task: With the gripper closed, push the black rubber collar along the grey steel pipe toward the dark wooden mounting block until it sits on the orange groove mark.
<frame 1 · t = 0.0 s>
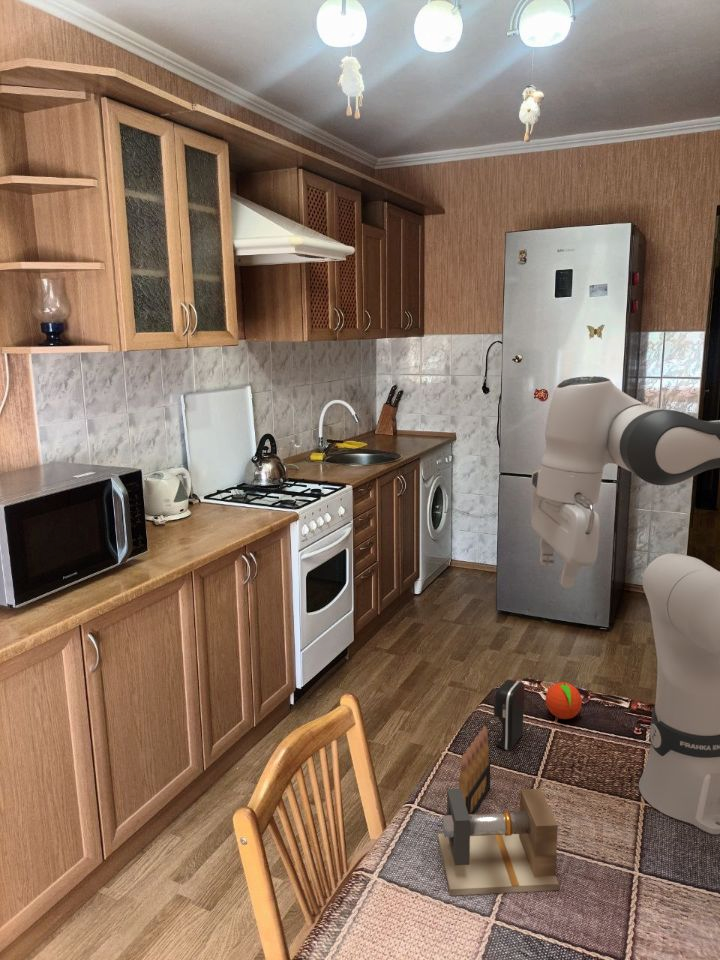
hand: (555, 575, 109), 39 cm above the table, tool pointing down, fingers open, 8 cm apart
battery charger: (507, 741, 134), on the table
collar: (458, 825, 102), point 7 cm above the table, slide at 7.0 cm
pipe stand: (495, 863, 104), on the table
ammunition clip: (473, 806, 116), on the table
steel pipe: (491, 824, 102), point 6 cm above the table
clementine: (563, 719, 142), on the table
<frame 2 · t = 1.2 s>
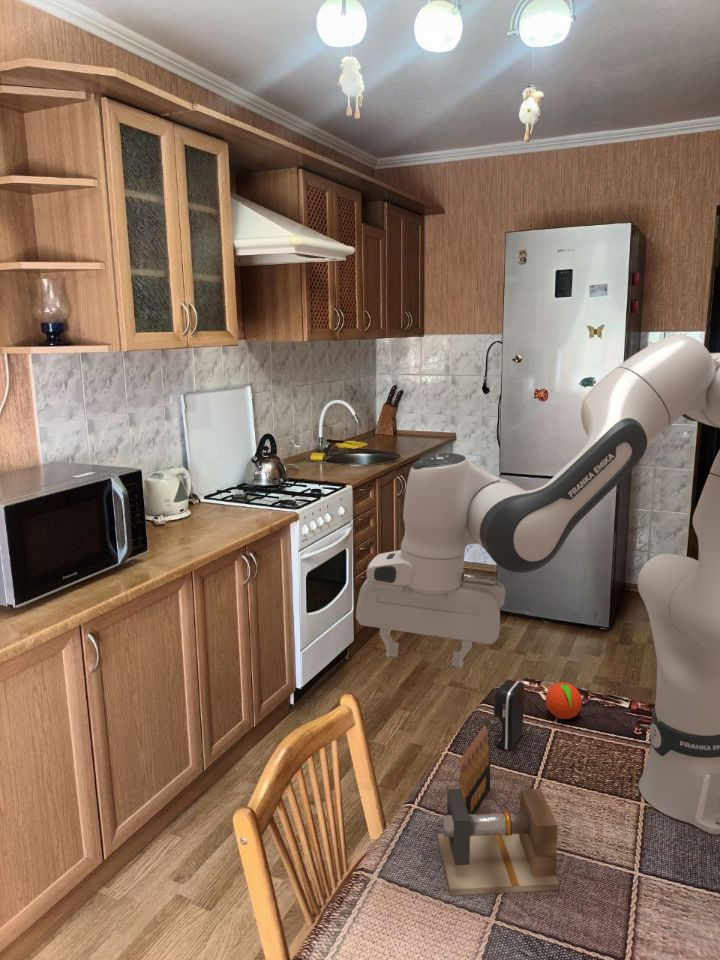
hand: (424, 661, 103), 29 cm above the table, tool pointing down, fingers open, 8 cm apart
nothing on the table moved.
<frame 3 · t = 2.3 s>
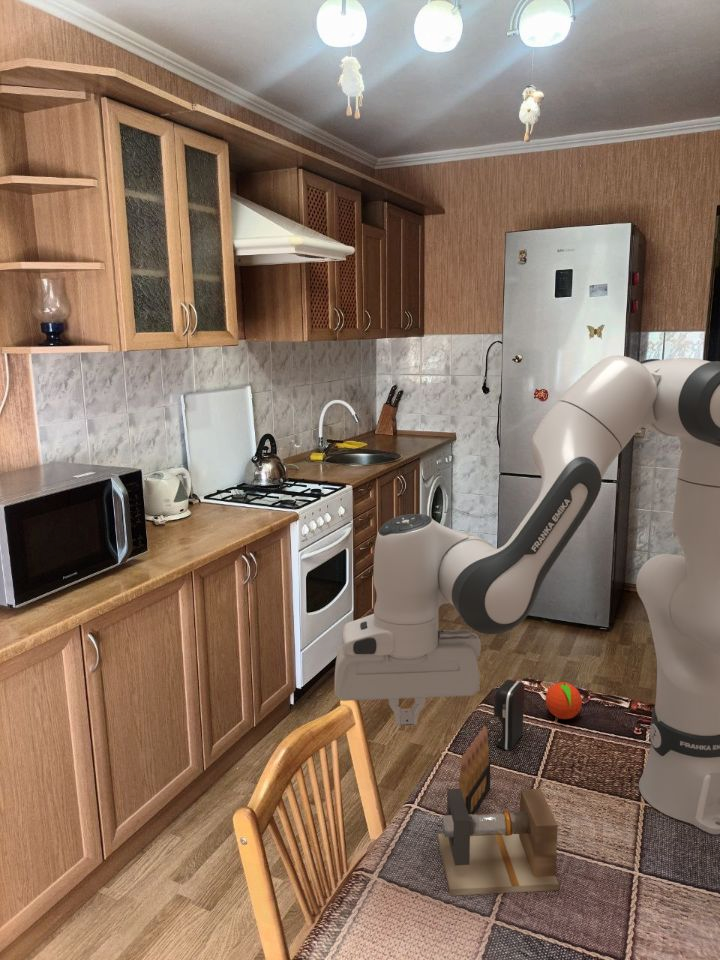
hand: (406, 723, 102), 21 cm above the table, tool pointing down, fingers closed
nothing on the table moved.
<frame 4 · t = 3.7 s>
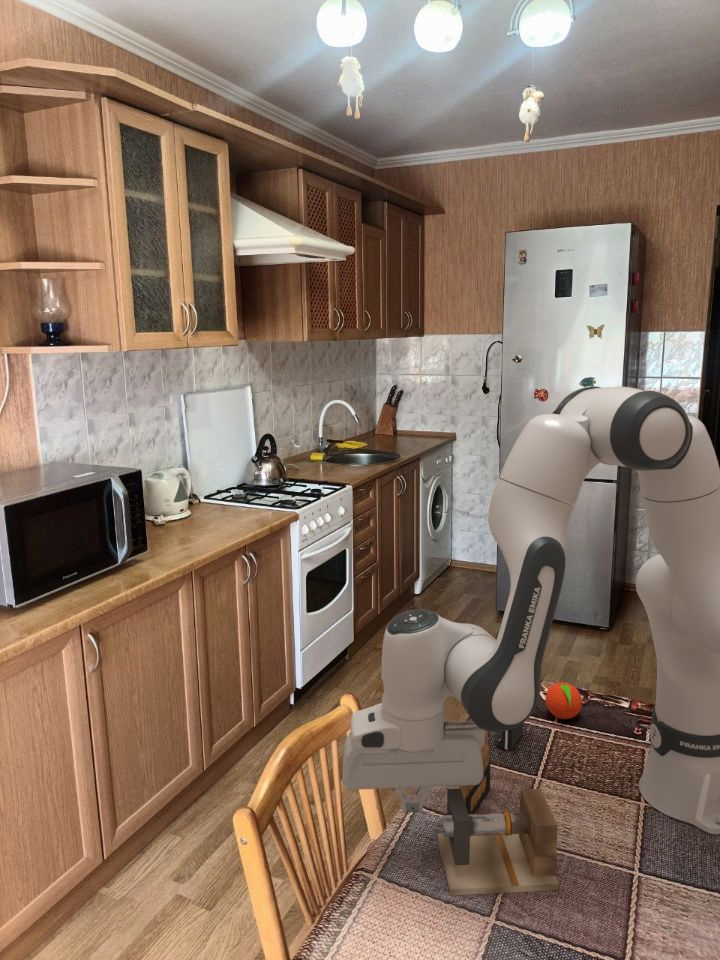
hand: (412, 809, 105), 7 cm above the table, tool pointing down, fingers closed
nothing on the table moved.
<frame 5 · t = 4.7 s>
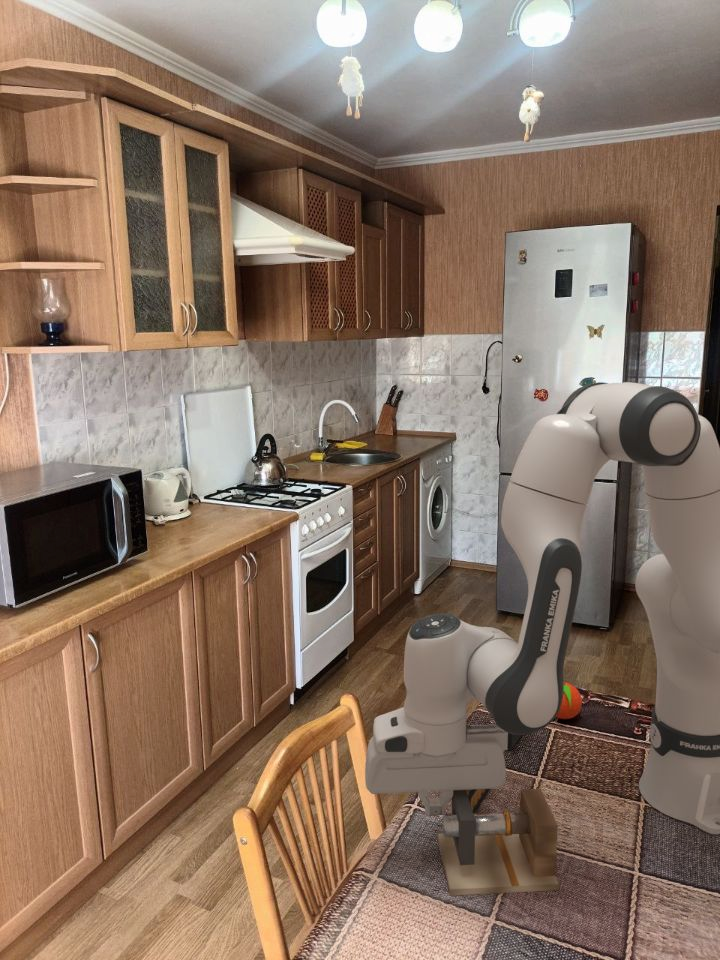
hand: (435, 813, 105), 6 cm above the table, tool pointing down, fingers closed
collar: (462, 825, 102), point 6 cm above the table, slide at 6.3 cm, touching gripper
everything else where it was.
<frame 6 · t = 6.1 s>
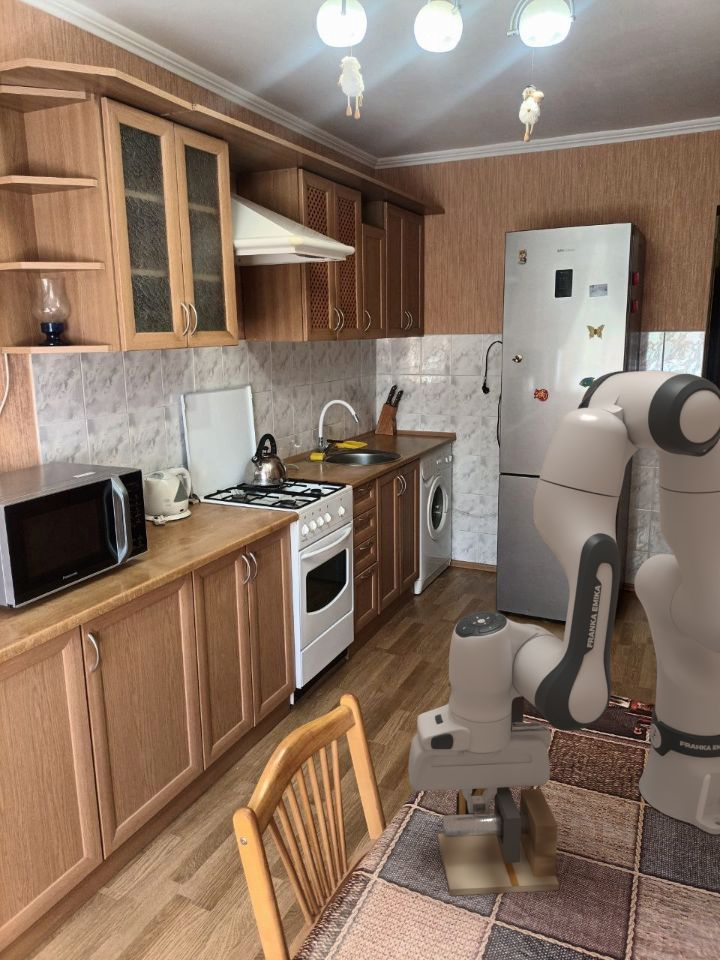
hand: (477, 810, 105), 7 cm above the table, tool pointing down, fingers closed
collar: (507, 823, 102), point 7 cm above the table, slide at 0.0 cm, touching gripper
everything else where it was.
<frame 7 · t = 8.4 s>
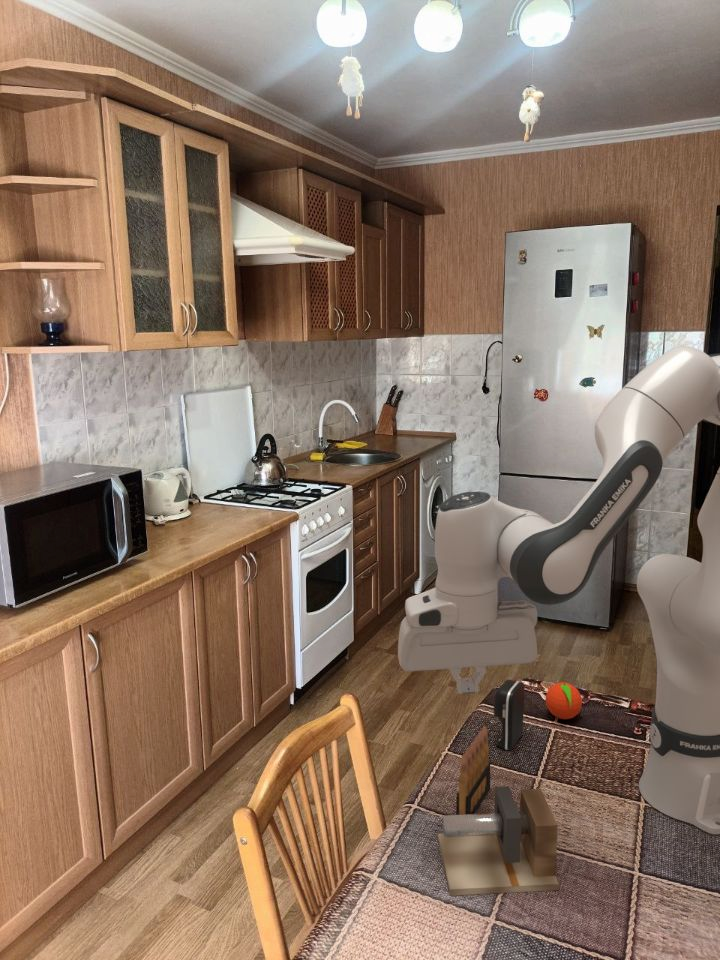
hand: (467, 691, 107), 23 cm above the table, tool pointing down, fingers closed
collar: (507, 823, 102), point 7 cm above the table, slide at -0.1 cm
everything else where it was.
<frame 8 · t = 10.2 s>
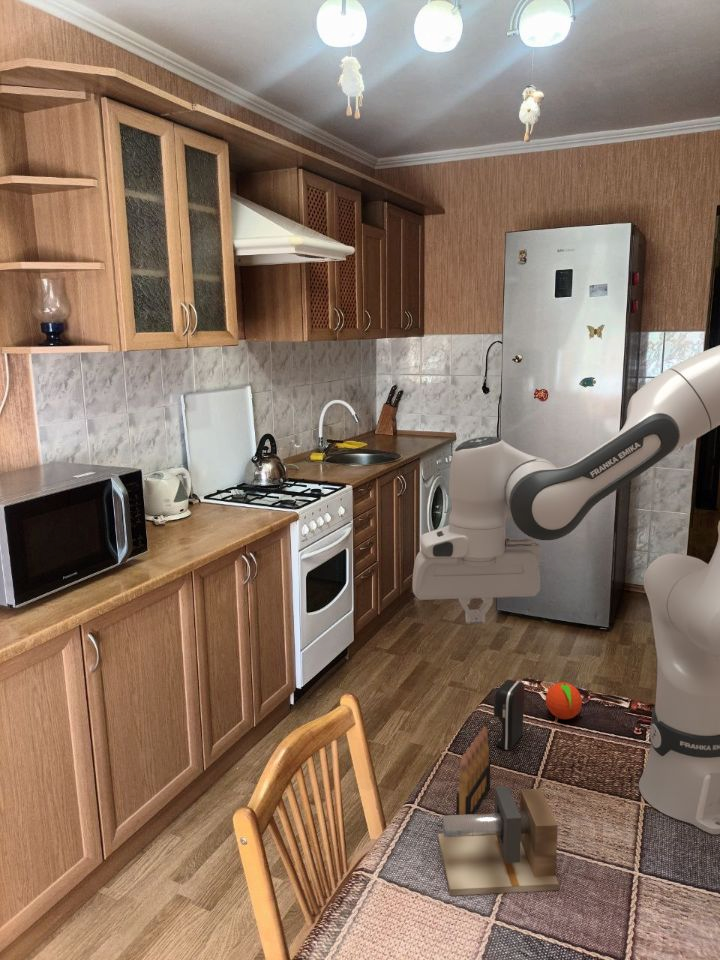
hand: (475, 622, 116), 29 cm above the table, tool pointing down, fingers closed
nothing on the table moved.
at the end: collar slide at -0.1 cm; the gripper is holding nothing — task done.
